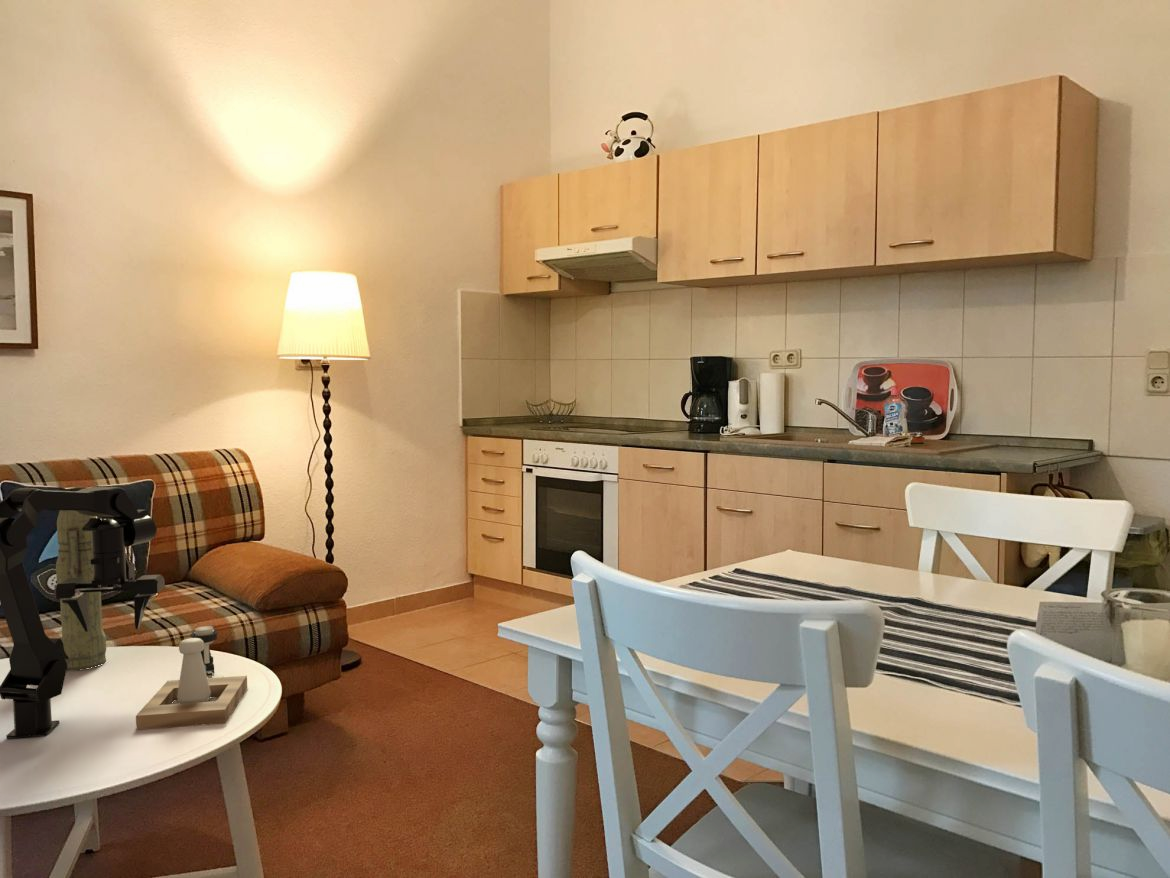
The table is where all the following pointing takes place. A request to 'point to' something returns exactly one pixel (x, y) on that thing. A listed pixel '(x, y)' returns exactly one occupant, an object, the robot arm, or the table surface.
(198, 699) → the salt shaker
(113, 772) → the table surface
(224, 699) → the wooden flat frame
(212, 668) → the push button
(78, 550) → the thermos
